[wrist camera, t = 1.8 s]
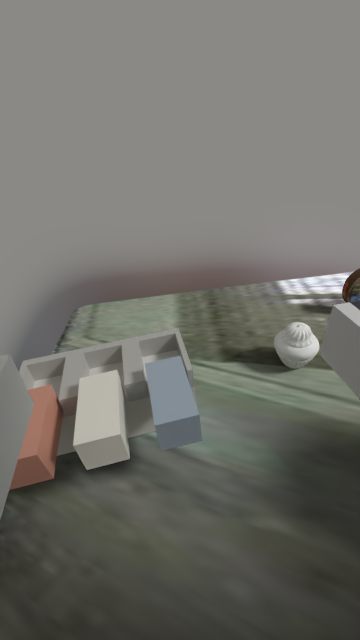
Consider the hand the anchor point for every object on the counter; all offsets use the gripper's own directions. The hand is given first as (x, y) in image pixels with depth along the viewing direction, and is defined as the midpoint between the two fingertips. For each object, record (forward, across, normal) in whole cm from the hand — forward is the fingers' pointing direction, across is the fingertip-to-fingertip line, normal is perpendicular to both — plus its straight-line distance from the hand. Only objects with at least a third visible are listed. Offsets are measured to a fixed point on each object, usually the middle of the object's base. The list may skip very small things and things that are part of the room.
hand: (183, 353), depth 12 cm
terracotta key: (+11, -14, -18) cm, 25 cm away
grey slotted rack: (+18, -7, -25) cm, 31 cm away
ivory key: (+11, -7, -18) cm, 22 cm away
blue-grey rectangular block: (+11, 0, -17) cm, 21 cm away
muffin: (+21, +20, -23) cm, 37 cm away
